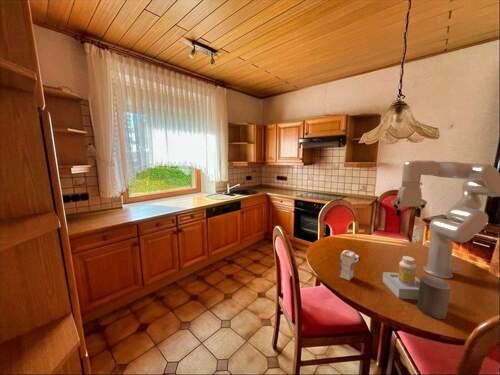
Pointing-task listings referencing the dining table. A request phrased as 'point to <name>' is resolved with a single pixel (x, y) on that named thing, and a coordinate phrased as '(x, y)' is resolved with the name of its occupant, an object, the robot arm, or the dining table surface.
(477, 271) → the dining table surface
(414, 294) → the gray square tray
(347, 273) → the syrup box
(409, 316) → the dining table surface
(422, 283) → the pillar candle
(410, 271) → the supplement bottle
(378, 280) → the dining table surface
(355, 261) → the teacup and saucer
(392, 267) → the dining table surface
